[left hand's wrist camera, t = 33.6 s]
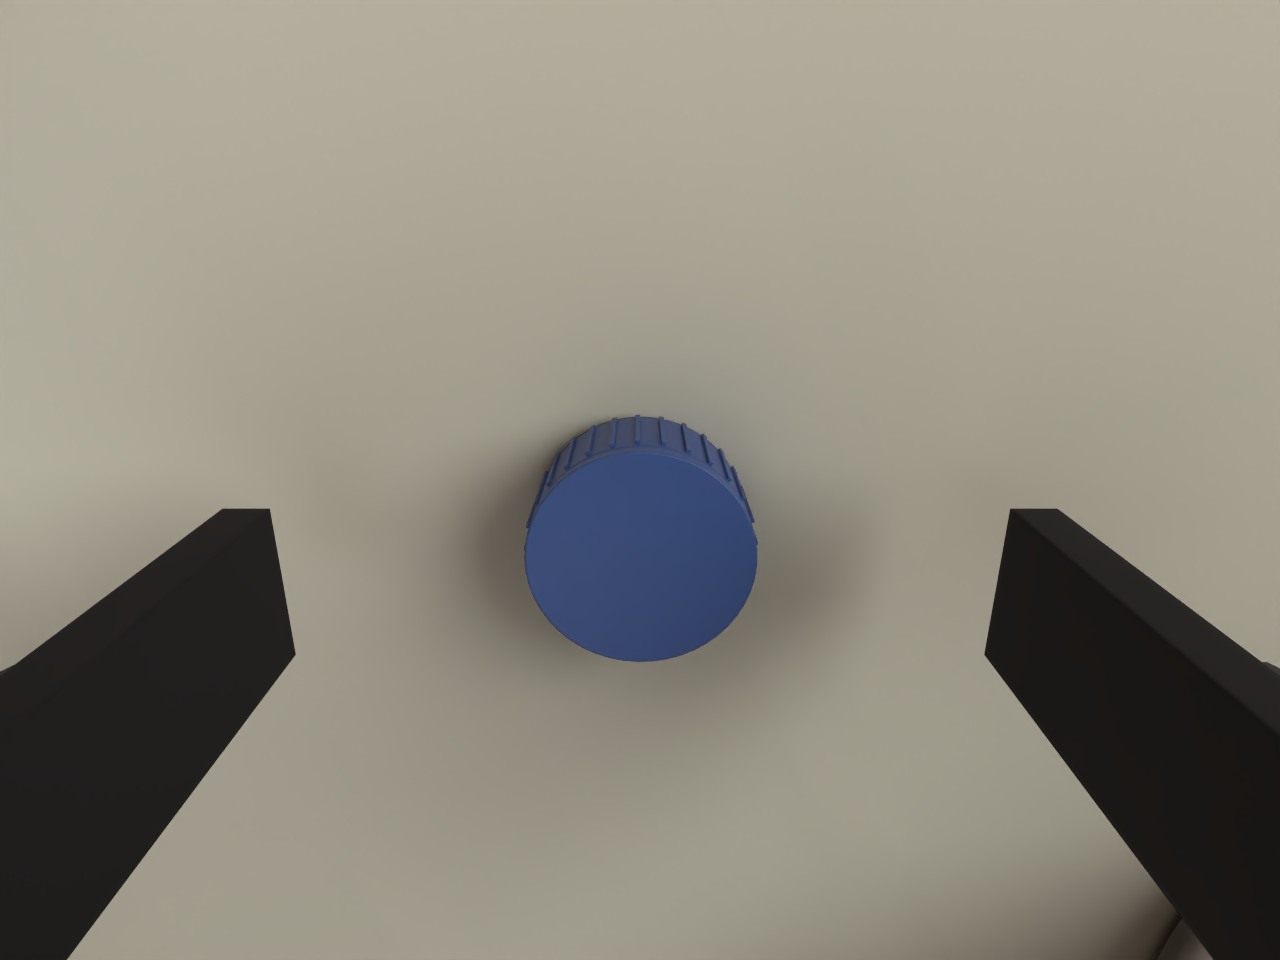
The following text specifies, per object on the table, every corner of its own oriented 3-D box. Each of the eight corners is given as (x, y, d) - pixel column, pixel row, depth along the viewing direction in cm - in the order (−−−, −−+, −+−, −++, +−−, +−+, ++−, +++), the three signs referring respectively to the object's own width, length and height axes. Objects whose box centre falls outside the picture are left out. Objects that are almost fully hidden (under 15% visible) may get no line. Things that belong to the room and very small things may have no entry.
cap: (538, 603, 16) (523, 662, 14) (534, 410, 15) (517, 445, 13) (737, 607, 16) (750, 667, 14) (752, 415, 15) (770, 451, 13)
